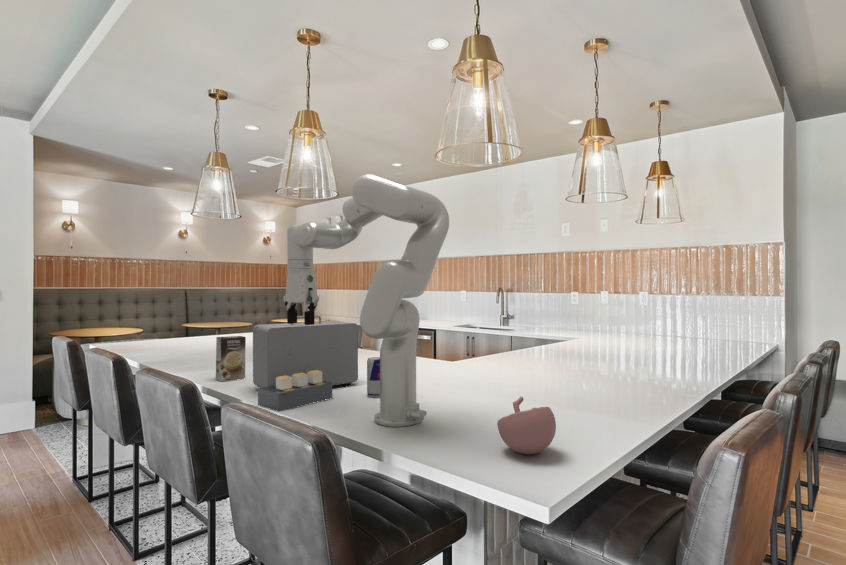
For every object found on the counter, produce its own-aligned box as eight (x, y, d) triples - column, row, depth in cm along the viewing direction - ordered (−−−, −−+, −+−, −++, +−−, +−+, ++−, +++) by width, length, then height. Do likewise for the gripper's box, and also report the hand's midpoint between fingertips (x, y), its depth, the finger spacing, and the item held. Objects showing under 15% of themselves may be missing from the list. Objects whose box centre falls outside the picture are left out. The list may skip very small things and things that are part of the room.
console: (332, 398, 146) (332, 381, 146) (278, 411, 131) (278, 392, 131) (310, 393, 153) (310, 377, 153) (257, 405, 138) (257, 387, 138)
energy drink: (383, 398, 146) (382, 359, 146) (366, 398, 146) (365, 359, 147) (384, 394, 152) (384, 357, 152) (368, 394, 152) (368, 357, 152)
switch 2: (307, 384, 141) (307, 373, 141) (298, 386, 139) (298, 375, 139) (301, 383, 143) (301, 372, 143) (292, 385, 140) (292, 374, 141)
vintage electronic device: (335, 377, 180) (335, 312, 180) (358, 385, 165) (357, 314, 165) (251, 388, 161) (251, 316, 161) (267, 398, 146) (267, 319, 147)
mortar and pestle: (529, 439, 106) (529, 389, 106) (568, 456, 96) (568, 400, 96) (486, 448, 101) (486, 395, 101) (523, 467, 90) (522, 408, 90)
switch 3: (322, 381, 145) (322, 371, 145) (313, 383, 143) (313, 372, 143) (316, 380, 147) (316, 369, 147) (307, 382, 145) (307, 371, 145)
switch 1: (291, 388, 137) (291, 376, 137) (281, 390, 134) (281, 378, 134) (286, 386, 139) (286, 375, 139) (276, 388, 136) (275, 377, 136)
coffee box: (220, 382, 171) (220, 338, 171) (215, 379, 176) (215, 337, 176) (245, 378, 177) (245, 336, 177) (240, 376, 182) (240, 335, 182)
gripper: (328, 265, 138) (328, 324, 138) (294, 267, 149) (294, 322, 149) (307, 264, 132) (307, 326, 132) (273, 266, 144) (273, 323, 144)
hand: (300, 323), depth 141 cm, fingers open, 8 cm apart
